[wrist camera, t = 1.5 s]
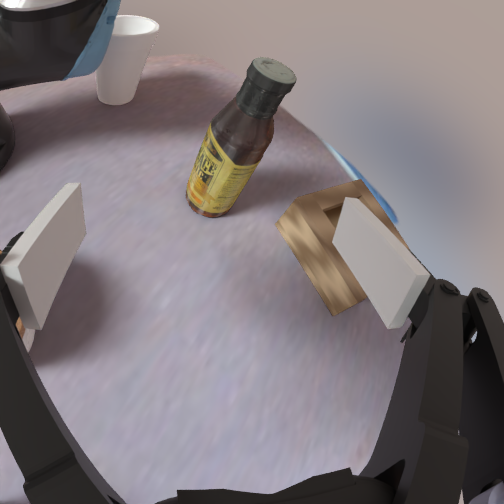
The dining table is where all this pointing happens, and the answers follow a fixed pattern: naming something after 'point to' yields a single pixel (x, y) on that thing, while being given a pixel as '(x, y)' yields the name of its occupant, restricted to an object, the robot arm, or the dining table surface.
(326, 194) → the open wooden box
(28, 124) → the dining table surface
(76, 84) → the dining table surface
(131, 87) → the foam cup
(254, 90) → the sauce bottle
